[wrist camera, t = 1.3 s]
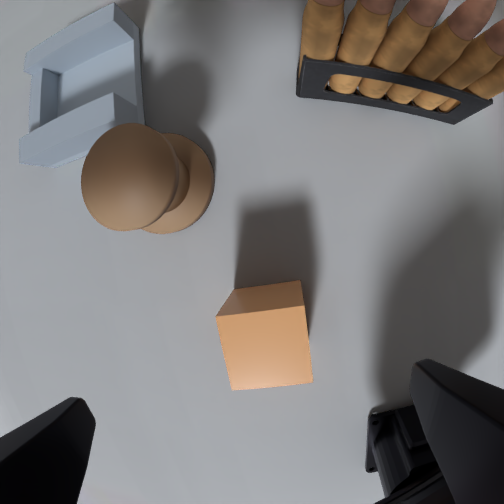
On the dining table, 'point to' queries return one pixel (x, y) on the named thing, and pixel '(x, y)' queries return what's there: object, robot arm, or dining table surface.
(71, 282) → the dining table surface
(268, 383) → the block
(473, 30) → the ammunition clip
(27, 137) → the notched board
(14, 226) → the dining table surface
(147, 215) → the wooden knob
